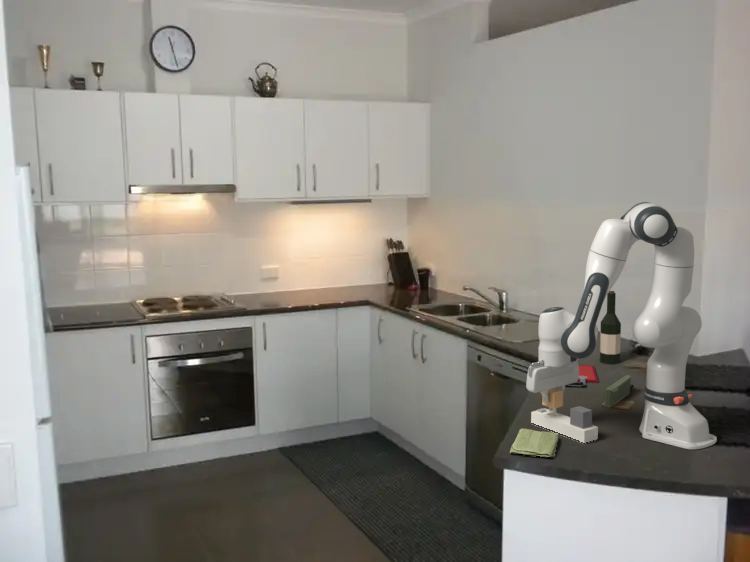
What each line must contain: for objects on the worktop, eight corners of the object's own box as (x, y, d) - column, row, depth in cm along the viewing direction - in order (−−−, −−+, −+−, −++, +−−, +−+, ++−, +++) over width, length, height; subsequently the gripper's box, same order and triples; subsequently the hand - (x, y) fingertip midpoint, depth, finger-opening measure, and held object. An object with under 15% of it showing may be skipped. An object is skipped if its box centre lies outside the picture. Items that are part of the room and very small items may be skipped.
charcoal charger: (591, 432, 228) (592, 410, 227) (582, 435, 226) (583, 412, 225) (578, 427, 232) (579, 405, 231) (570, 430, 230) (570, 408, 229)
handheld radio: (602, 406, 258) (627, 388, 277) (611, 409, 256) (636, 390, 275) (603, 388, 257) (628, 371, 276) (613, 390, 255) (637, 373, 274)
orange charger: (562, 412, 237) (563, 390, 236) (553, 415, 235) (554, 393, 234) (551, 408, 242) (551, 387, 240) (542, 410, 239) (542, 389, 238)
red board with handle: (557, 387, 281) (599, 389, 278) (557, 380, 280) (599, 382, 277) (556, 367, 310) (593, 368, 307) (556, 360, 309) (593, 362, 306)
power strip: (597, 439, 228) (598, 424, 227) (584, 443, 224) (584, 429, 224) (544, 419, 246) (544, 406, 245) (531, 423, 242) (531, 410, 242)
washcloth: (508, 456, 217) (508, 446, 217) (518, 435, 233) (518, 426, 233) (554, 462, 213) (554, 451, 212) (561, 440, 229) (561, 430, 228)
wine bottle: (622, 360, 315) (624, 290, 310) (617, 365, 308) (619, 293, 303) (602, 358, 320) (604, 289, 315) (596, 362, 313) (598, 292, 308)
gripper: (536, 365, 228) (536, 409, 230) (582, 354, 239) (582, 396, 241) (521, 361, 233) (521, 404, 235) (567, 351, 244) (567, 392, 246)
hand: (552, 400), depth 238 cm, fingers closed on orange charger, 4 cm apart
